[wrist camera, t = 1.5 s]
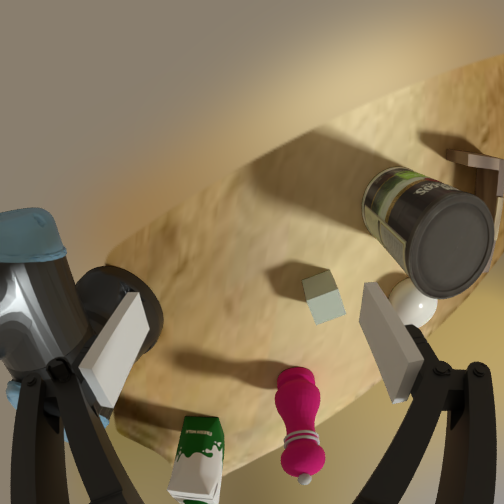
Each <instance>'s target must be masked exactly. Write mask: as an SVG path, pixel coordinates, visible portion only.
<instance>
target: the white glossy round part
mask: <svg viewBox="0 0 504 504" xmlns="http://www.w3.org/2000/svg"><path fill="white" fill-rule="evenodd" d="M388 300H389V302H390V303H391V305H392V306H393V308H394V310H395V311H396V313H397V314H398V316H399V318H400V319H401V321H402V323H403V324H404V325H409V324H413V325H414V326H416V327H417V328H419V327H421V326H422V325H424V324H425V323H426V322H428V321H429V320H430V318H431V317H432V316H433V314H434V312H435V310H436V307H437V299H433V298H430V297H427V296H425V295H423V294H422V293H421V292H420V291H419V290H418V289H417V288H416V287H415V285H414V284H413V282H412V281H411V279H410V278H407V279H404V280H403V281H401V282H399V283H398V284H397V285H396V286H395V287H394V288H393V290H392V291H391V293H390V295H389V298H388Z"/></svg>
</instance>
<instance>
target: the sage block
mask: <svg viewBox="0 0 504 504" xmlns="http://www.w3.org/2000/svg"><path fill="white" fill-rule="evenodd" d="M302 284H303V288H304V293H305V297H306V301H307V304H308V306H309V309H310V311H311V313H312V316H313V318H314V321H315V323H316V325H318V324H321V323H324V322H326V321H329V320H332V319H335V318H337V317H340V316H343V315H345V314H346V312H345V309H344V306H343V302H342V299H341V296H340V293H339V290H338V287H337V285H336V283H335V280H334V278H333V276H332V273H331V271H330V270H328V271H325V272H323V273H320V274H317V275H315V276H312V277H310V278H307V279H304V280H302Z"/></svg>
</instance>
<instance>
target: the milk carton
mask: <svg viewBox="0 0 504 504" xmlns="http://www.w3.org/2000/svg"><path fill="white" fill-rule="evenodd" d="M223 459H224V433H223V430H222V427H221V424H220V421H219V418H217V417H190V416H185V419H184V423H183V427H182V431H181V435H180V440H179V444H178V448H177V453H176V457H175V462H174V466H173V471H172V476H171V479H170V482H169V485H168V488H167V491H168V492H169V493H170V494H171V496H172V497H174V498H175V499H176V500H177V501H178V502H179V503H184V504H218V503H219V494H220V486H221V478H222V468H223Z"/></svg>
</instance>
